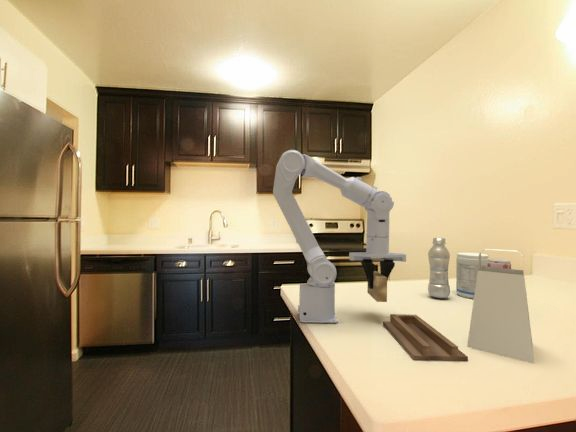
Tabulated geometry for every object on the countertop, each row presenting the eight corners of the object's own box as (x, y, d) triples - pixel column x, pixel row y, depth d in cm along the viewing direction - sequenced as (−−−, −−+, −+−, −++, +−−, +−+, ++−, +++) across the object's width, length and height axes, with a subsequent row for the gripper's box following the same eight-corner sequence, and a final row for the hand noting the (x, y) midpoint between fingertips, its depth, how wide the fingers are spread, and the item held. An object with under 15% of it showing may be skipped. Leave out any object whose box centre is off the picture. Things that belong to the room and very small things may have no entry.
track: (413, 360, 54) (413, 345, 54) (382, 324, 72) (382, 314, 72) (467, 361, 54) (467, 346, 54) (423, 325, 72) (423, 314, 72)
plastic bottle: (453, 301, 94) (453, 239, 94) (430, 299, 95) (431, 238, 95) (446, 296, 100) (446, 238, 100) (425, 294, 101) (425, 237, 101)
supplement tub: (462, 291, 107) (462, 251, 107) (492, 297, 100) (493, 254, 100) (451, 295, 101) (451, 253, 101) (483, 301, 94) (483, 256, 94)
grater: (474, 332, 68) (474, 246, 68) (532, 344, 61) (533, 250, 61) (467, 346, 60) (467, 249, 60) (533, 363, 53) (534, 254, 53)
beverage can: (500, 315, 80) (500, 261, 80) (481, 309, 85) (482, 258, 85) (516, 314, 81) (516, 260, 81) (496, 308, 87) (496, 258, 87)
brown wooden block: (376, 301, 72) (377, 277, 72) (367, 292, 81) (367, 271, 81) (387, 301, 72) (387, 277, 72) (376, 292, 81) (376, 271, 81)
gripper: (399, 236, 81) (398, 285, 81) (347, 235, 81) (346, 284, 81) (409, 238, 74) (408, 291, 74) (352, 236, 74) (351, 290, 74)
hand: (376, 288), depth 77 cm, fingers closed on brown wooden block, 3 cm apart
